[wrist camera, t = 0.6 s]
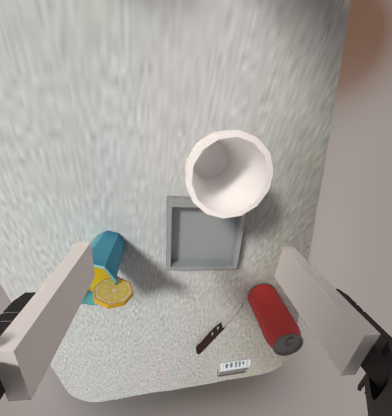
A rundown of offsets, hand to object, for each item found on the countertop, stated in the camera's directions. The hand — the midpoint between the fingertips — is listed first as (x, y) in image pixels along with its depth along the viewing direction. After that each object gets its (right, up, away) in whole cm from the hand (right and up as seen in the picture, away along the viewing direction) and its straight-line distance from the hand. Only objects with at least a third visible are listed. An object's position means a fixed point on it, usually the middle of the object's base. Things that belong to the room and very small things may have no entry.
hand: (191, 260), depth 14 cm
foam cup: (+2, +12, +19) cm, 23 cm away
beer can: (+15, -16, +33) cm, 39 cm away
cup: (-17, -3, +23) cm, 29 cm away
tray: (+2, -1, +24) cm, 24 cm away
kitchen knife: (+6, -25, +35) cm, 44 cm away
